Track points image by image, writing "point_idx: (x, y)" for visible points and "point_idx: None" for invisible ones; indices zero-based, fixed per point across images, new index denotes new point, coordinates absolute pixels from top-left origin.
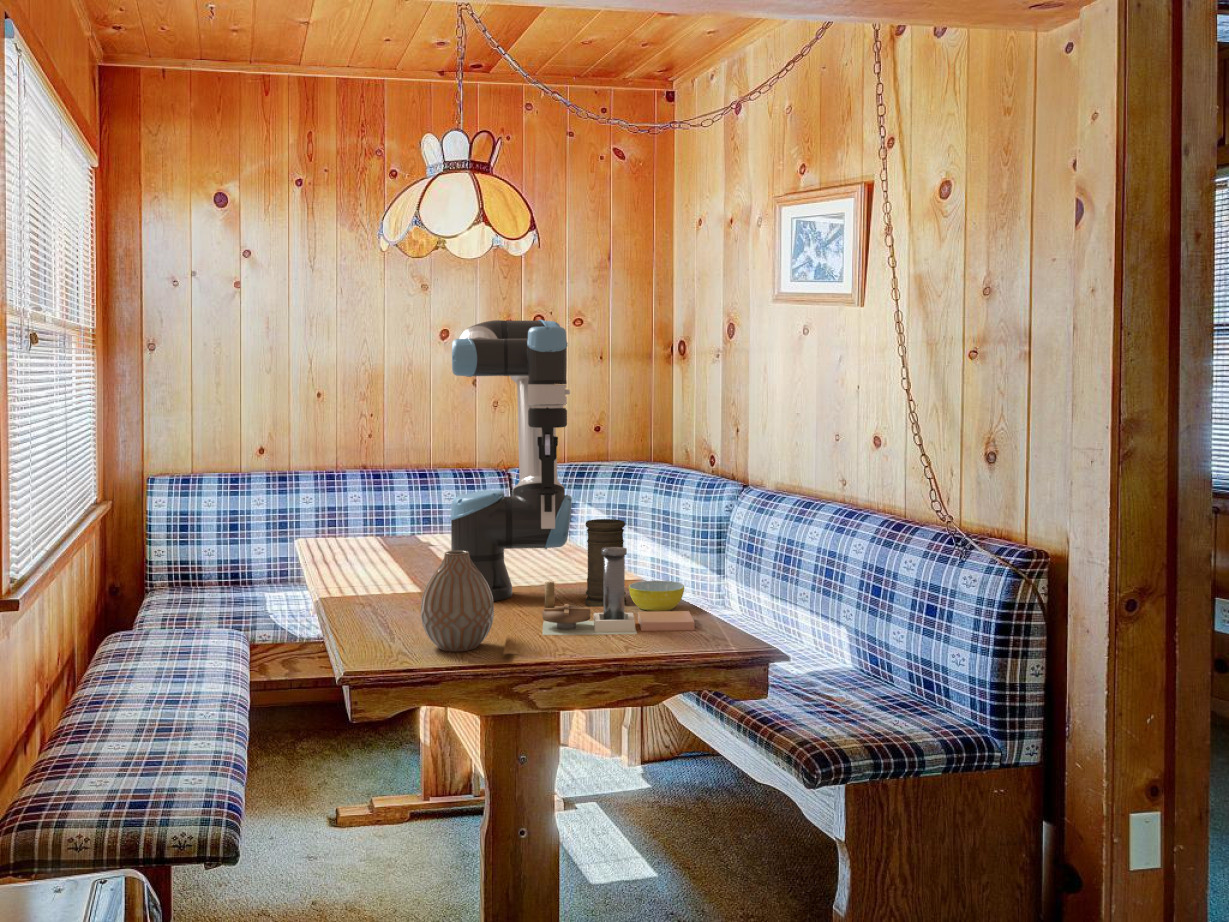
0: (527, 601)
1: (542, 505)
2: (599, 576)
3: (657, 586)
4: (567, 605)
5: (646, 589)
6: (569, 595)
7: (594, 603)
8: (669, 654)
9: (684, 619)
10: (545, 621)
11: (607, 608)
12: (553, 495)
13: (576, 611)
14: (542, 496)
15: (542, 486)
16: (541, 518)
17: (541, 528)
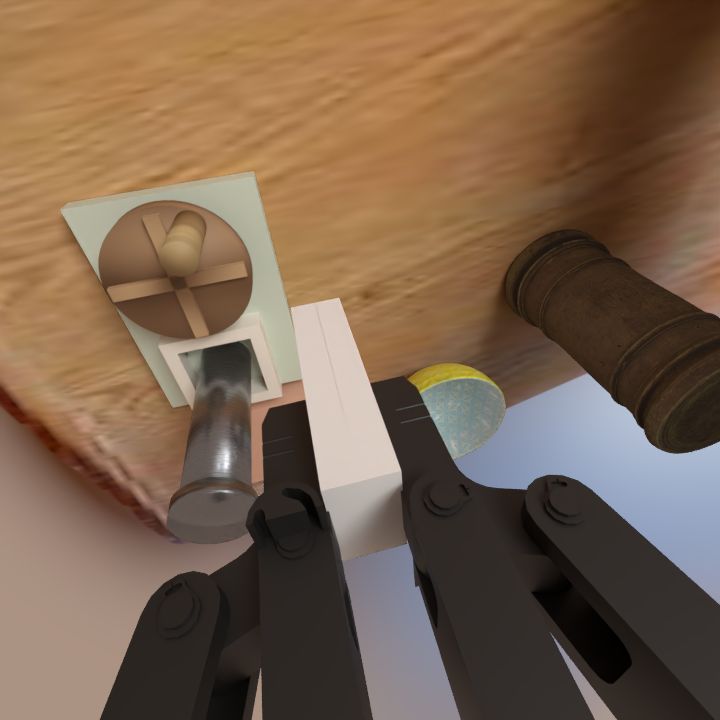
0: (647, 39)
1: (310, 421)
2: (558, 305)
3: (492, 409)
4: (222, 277)
5: (488, 388)
6: (681, 167)
7: (519, 262)
8: (93, 456)
9: (259, 470)
10: (250, 184)
11: (198, 380)
12: (341, 552)
13: (174, 308)
14: (322, 489)
15: (119, 688)
16: (298, 347)
17: (291, 310)
